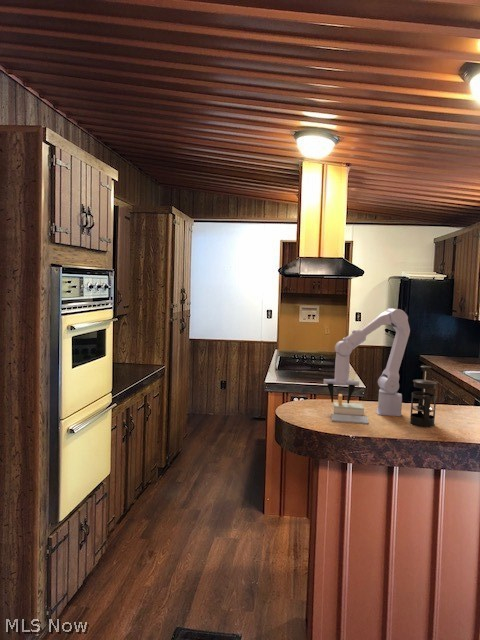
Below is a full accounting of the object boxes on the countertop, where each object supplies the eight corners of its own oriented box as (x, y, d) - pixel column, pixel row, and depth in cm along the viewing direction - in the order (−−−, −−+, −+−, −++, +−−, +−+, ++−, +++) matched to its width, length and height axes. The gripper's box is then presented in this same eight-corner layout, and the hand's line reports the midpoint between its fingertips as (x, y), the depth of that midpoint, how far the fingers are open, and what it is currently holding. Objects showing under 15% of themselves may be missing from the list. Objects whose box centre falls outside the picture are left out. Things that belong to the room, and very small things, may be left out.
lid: (362, 407, 226) (363, 394, 226) (363, 412, 218) (364, 398, 218) (333, 405, 228) (334, 392, 228) (333, 409, 220) (334, 396, 220)
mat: (366, 417, 216) (366, 416, 216) (368, 424, 207) (368, 422, 207) (331, 415, 219) (331, 413, 218) (331, 421, 209) (331, 419, 209)
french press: (406, 419, 216) (410, 363, 214) (430, 421, 215) (434, 364, 213) (413, 427, 204) (417, 368, 202) (438, 429, 203) (443, 369, 201)
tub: (362, 411, 226) (362, 405, 226) (363, 416, 219) (363, 410, 218) (333, 409, 228) (333, 403, 228) (333, 414, 220) (334, 408, 220)
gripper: (324, 370, 220) (322, 403, 221) (360, 372, 218) (358, 405, 219) (324, 367, 227) (322, 399, 228) (359, 369, 225) (357, 401, 226)
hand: (340, 402), depth 224 cm, fingers open, 6 cm apart
